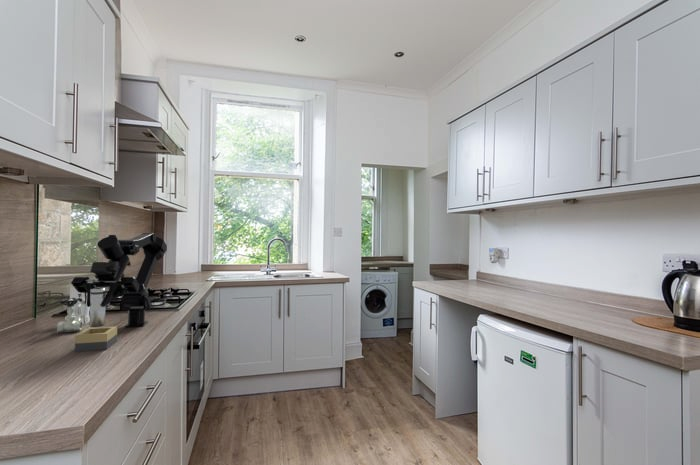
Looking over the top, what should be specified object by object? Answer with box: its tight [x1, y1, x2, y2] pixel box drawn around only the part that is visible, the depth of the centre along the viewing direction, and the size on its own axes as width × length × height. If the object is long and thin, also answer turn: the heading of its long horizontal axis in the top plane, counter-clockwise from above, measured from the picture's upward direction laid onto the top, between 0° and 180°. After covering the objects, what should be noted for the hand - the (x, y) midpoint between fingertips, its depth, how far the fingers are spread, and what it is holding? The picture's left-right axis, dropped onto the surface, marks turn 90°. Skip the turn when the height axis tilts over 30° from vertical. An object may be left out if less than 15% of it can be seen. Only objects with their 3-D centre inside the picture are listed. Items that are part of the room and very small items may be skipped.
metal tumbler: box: [89, 288, 107, 328], centre depth 108 cm, size 4×4×12 cm
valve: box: [56, 297, 84, 333], centre depth 123 cm, size 7×7×12 cm
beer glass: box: [69, 285, 90, 325], centre depth 135 cm, size 7×7×15 cm
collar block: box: [74, 326, 118, 353], centre depth 108 cm, size 8×8×5 cm
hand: (95, 306), depth 107 cm, fingers closed on metal tumbler, 4 cm apart
